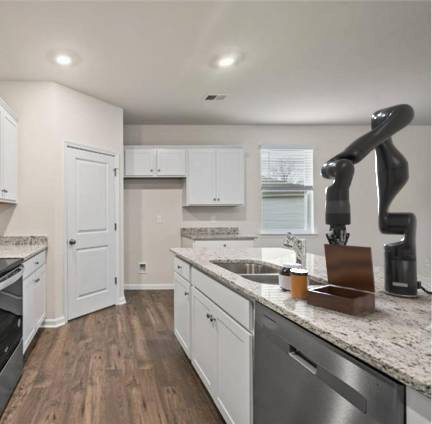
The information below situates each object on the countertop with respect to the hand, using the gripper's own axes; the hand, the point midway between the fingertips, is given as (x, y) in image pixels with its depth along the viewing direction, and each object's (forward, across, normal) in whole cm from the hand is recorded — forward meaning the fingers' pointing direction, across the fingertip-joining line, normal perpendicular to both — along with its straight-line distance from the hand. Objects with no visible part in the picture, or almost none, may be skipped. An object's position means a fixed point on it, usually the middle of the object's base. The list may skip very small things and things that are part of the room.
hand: (338, 257), depth 106 cm
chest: (+16, -11, -5) cm, 20 cm away
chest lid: (+2, -5, -5) cm, 7 cm away
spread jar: (+16, -1, +16) cm, 23 cm away
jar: (+16, -12, +8) cm, 21 cm away
